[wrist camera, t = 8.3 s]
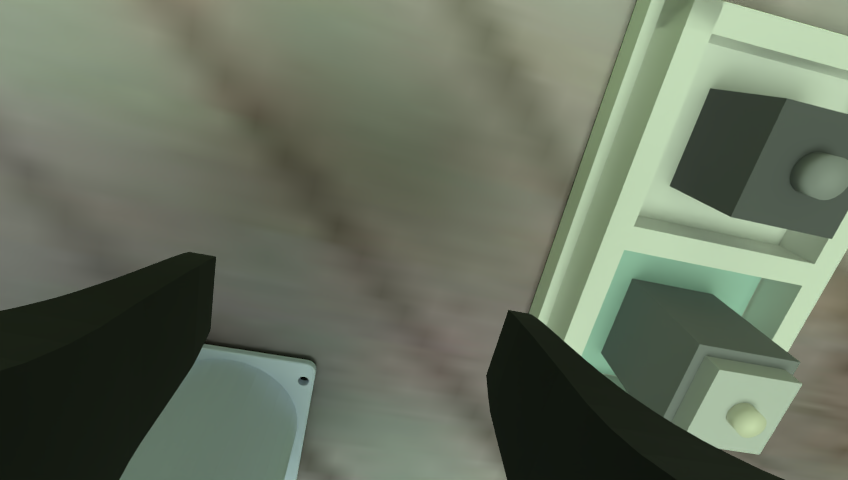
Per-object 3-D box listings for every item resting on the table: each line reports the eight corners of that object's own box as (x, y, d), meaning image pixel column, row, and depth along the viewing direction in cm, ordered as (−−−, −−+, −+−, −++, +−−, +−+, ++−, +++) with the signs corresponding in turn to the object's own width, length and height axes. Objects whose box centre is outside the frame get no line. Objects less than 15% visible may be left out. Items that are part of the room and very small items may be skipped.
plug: (754, 204, 21) (851, 247, 16) (669, 186, 20) (746, 224, 16) (800, 111, 20) (920, 130, 15) (710, 88, 19) (807, 101, 15)
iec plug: (677, 365, 24) (775, 477, 18) (600, 352, 23) (674, 463, 17) (712, 294, 22) (833, 387, 16) (632, 278, 22) (725, 369, 16)
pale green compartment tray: (706, 395, 26) (746, 439, 23) (511, 363, 25) (527, 406, 22) (880, 66, 20) (964, 69, 17) (637, -2, 19) (683, -11, 16)
